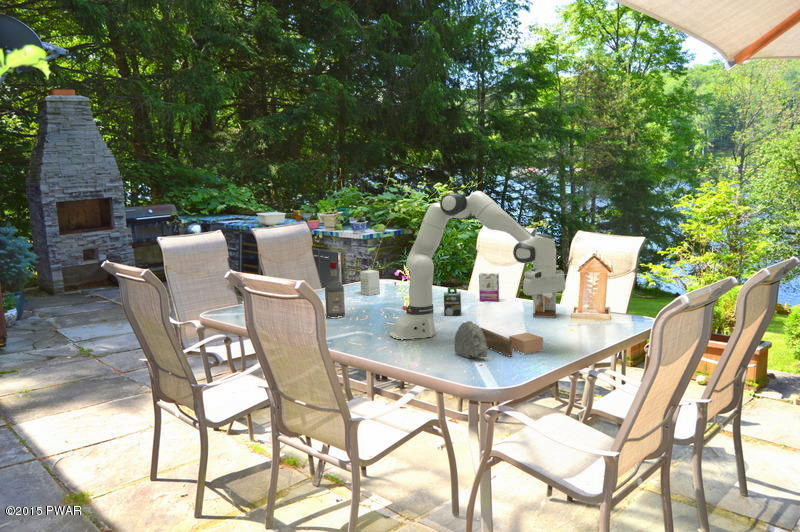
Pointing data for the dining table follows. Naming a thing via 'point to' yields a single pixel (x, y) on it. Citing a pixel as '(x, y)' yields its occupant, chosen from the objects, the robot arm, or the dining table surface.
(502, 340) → the board
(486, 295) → the candy bar box
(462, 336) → the decorative rock
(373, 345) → the dining table surface
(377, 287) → the supplement box
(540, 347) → the block
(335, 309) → the liquor
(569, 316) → the dining table surface
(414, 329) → the robot arm
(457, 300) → the chalk box
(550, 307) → the display case
